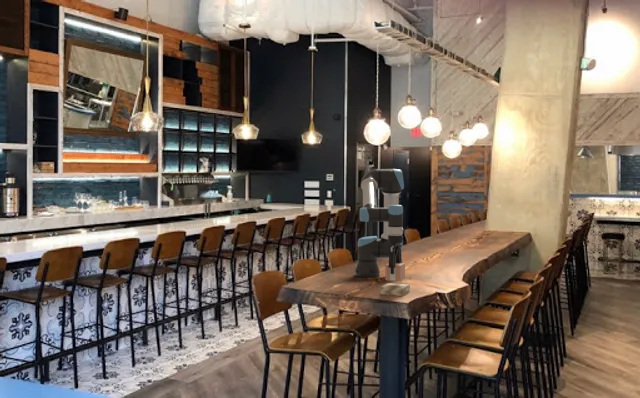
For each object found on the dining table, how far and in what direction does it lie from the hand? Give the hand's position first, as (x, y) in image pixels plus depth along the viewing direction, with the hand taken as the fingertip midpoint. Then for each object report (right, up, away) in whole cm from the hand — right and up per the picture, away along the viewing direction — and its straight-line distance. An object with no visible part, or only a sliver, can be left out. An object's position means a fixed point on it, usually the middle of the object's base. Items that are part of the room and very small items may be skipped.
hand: (395, 278), depth 323 cm
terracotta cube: (0, 0, 0) cm, 0 cm away
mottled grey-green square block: (0, -8, 0) cm, 8 cm away
